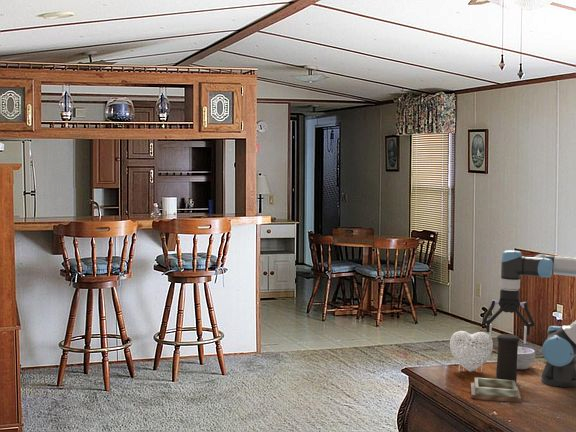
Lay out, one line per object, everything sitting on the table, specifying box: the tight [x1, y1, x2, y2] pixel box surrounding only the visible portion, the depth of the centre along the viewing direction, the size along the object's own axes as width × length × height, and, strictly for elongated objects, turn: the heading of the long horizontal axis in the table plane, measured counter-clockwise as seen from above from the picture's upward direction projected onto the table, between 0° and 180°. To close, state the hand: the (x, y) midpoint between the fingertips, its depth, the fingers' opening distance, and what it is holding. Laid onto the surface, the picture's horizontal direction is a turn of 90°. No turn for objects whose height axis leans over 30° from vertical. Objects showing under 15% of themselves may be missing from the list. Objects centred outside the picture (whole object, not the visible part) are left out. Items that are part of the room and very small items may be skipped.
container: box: [495, 333, 520, 384], centre depth 344 cm, size 9×9×20 cm
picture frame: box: [470, 377, 522, 403], centre depth 329 cm, size 18×18×4 cm
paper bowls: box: [517, 346, 536, 370], centre depth 374 cm, size 15×15×8 cm
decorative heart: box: [449, 330, 494, 373], centre depth 364 cm, size 18×11×17 cm, turn 81°
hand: (507, 341), depth 344 cm, fingers open, 13 cm apart
